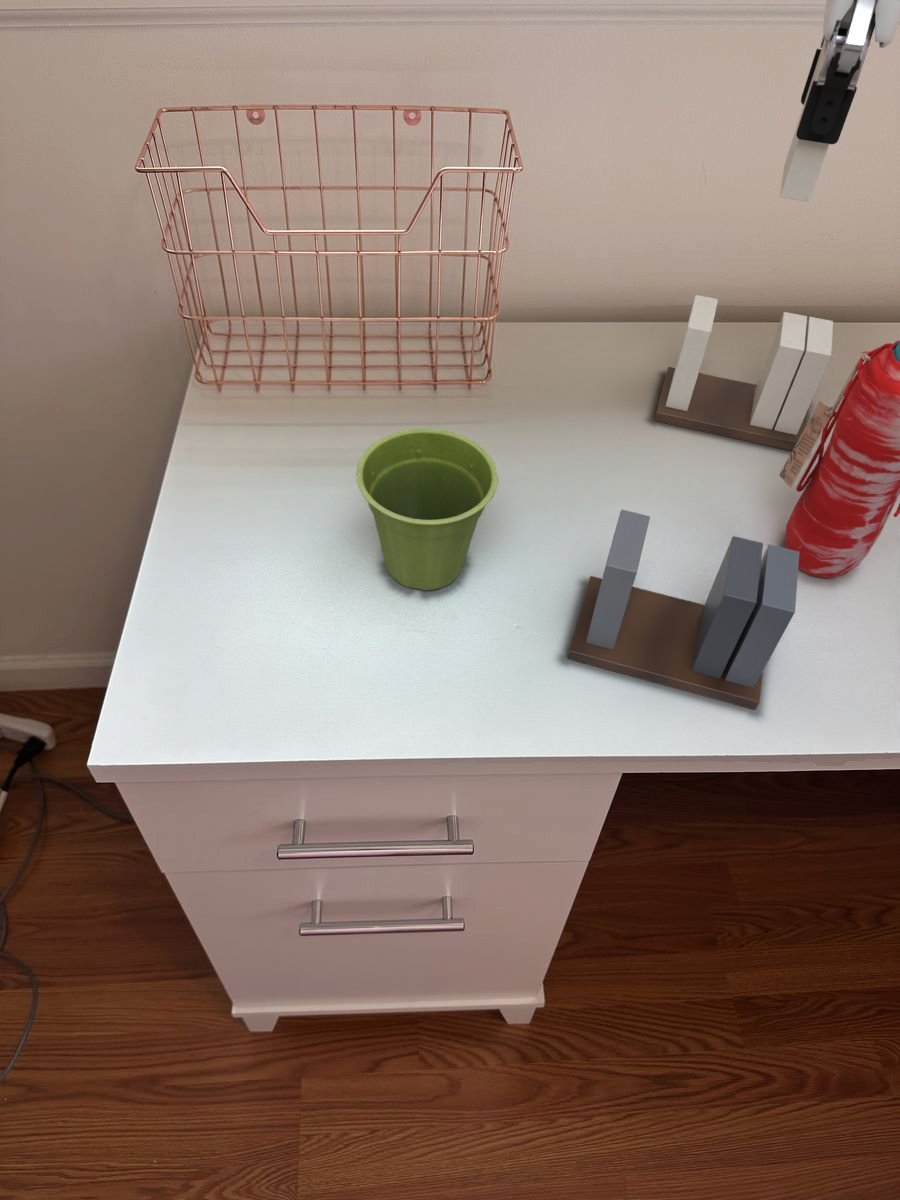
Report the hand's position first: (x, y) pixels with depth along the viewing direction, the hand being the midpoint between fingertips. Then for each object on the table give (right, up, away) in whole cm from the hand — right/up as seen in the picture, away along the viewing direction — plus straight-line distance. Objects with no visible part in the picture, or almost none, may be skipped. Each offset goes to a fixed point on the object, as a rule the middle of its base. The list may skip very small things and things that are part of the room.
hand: (818, 120), depth 70 cm
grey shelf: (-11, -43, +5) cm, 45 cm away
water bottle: (+4, -34, +13) cm, 37 cm away
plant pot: (-32, -36, +11) cm, 49 cm away
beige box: (0, -3, +4) cm, 5 cm away
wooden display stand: (+2, -18, +26) cm, 32 cm away
